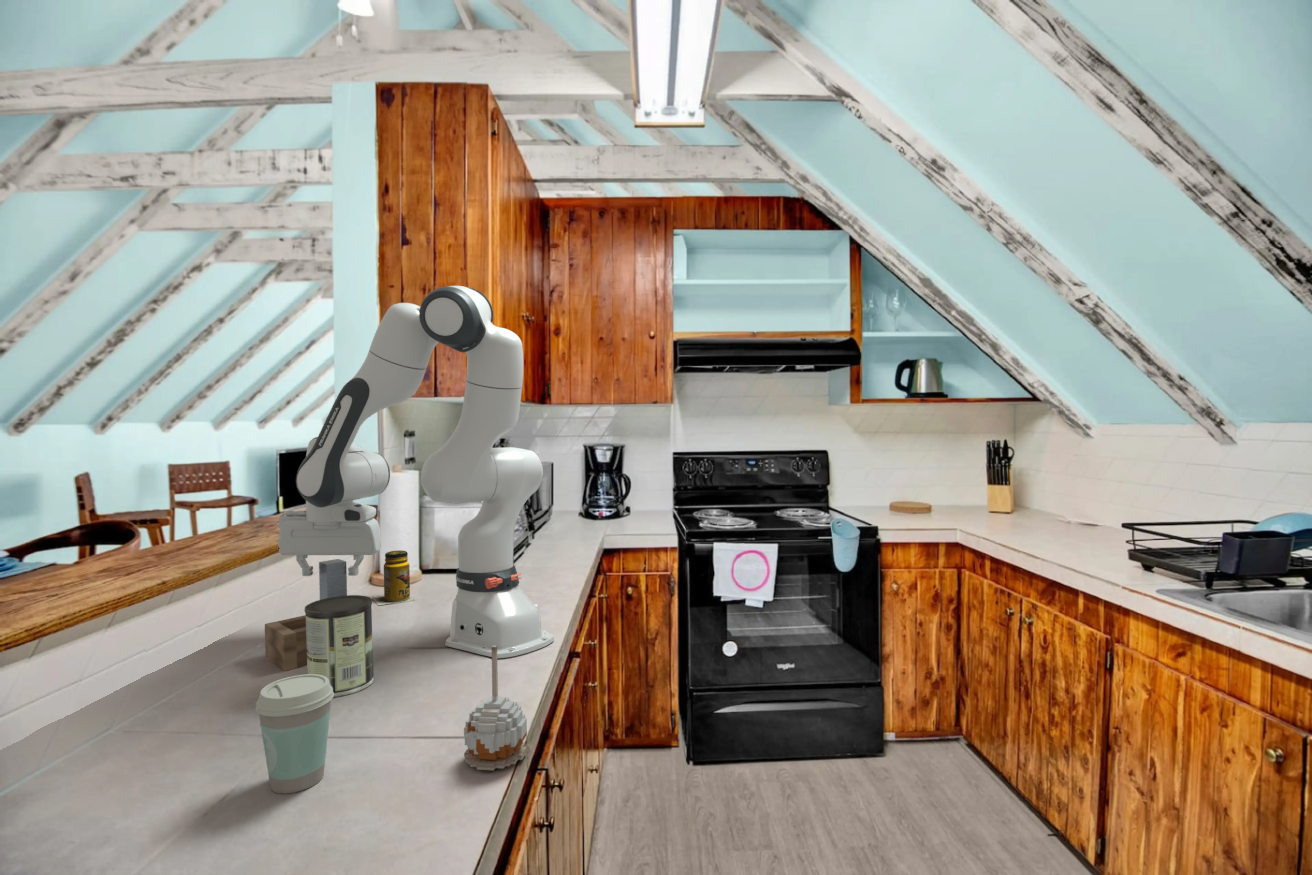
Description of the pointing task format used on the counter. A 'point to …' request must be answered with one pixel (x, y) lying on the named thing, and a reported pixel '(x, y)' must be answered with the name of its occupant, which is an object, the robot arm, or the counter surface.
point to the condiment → (395, 579)
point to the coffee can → (341, 642)
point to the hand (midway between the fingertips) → (330, 575)
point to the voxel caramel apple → (495, 730)
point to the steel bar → (332, 578)
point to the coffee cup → (295, 730)
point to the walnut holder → (287, 643)
